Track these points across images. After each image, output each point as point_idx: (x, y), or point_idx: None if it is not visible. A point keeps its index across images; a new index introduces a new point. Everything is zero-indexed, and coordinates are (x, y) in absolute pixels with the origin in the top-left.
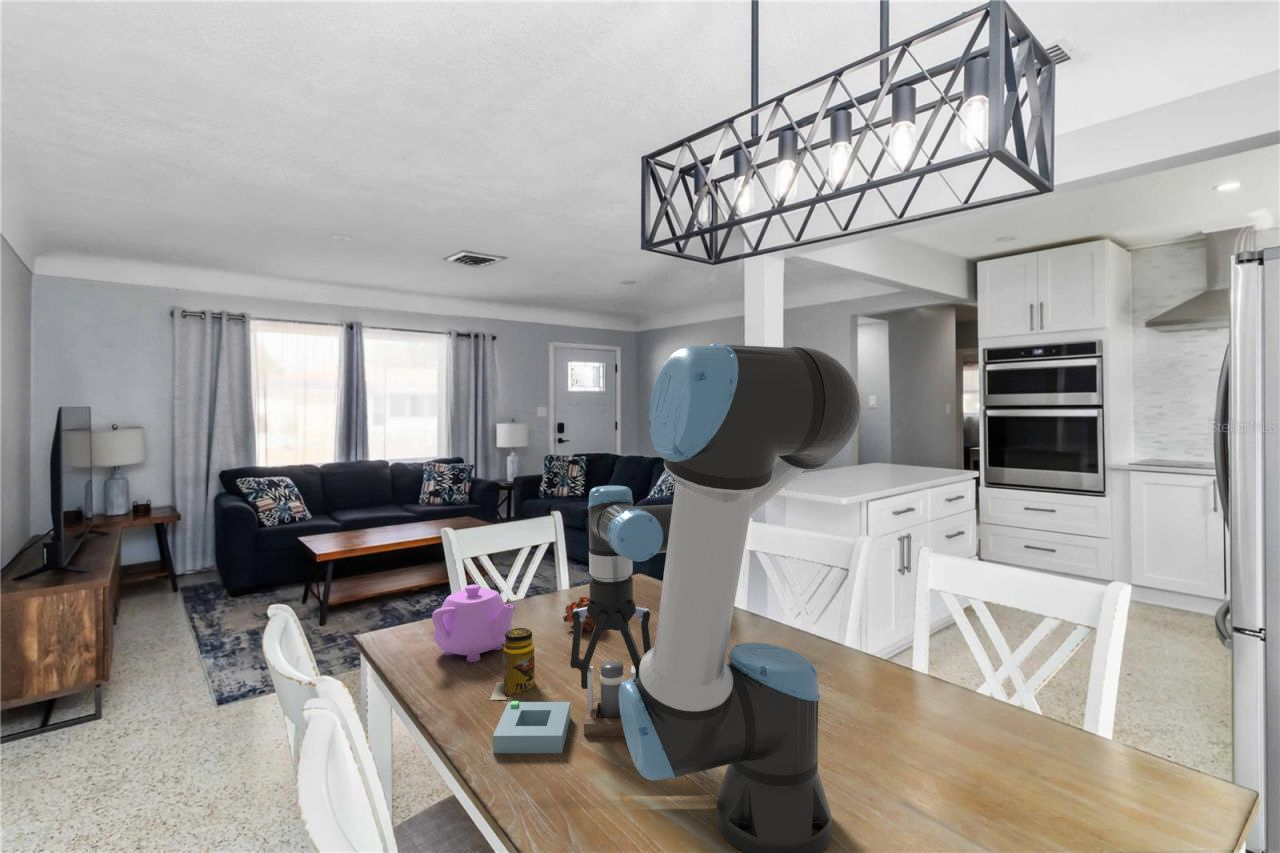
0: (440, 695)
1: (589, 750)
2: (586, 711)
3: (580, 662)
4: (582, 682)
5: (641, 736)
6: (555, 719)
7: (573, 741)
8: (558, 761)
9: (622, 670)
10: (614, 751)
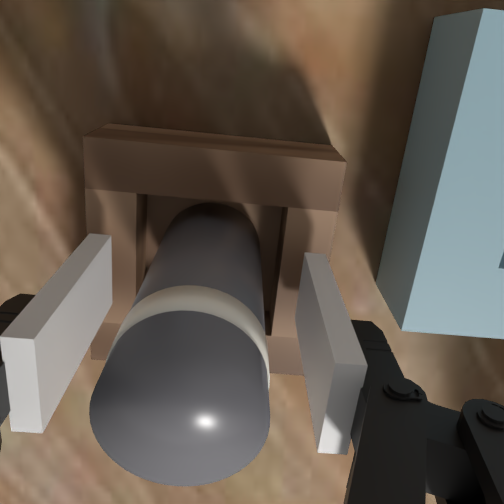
0: None
1: (312, 85)
2: None
3: (438, 441)
4: (380, 343)
5: None
6: (492, 180)
7: (373, 161)
8: (450, 10)
9: (102, 371)
10: (207, 65)
